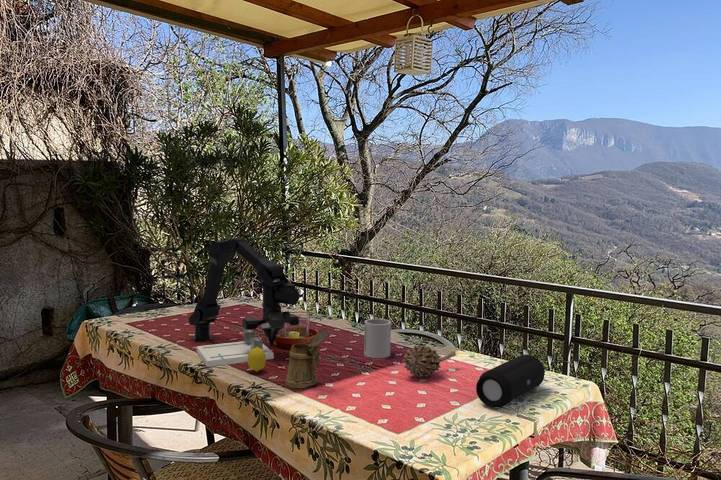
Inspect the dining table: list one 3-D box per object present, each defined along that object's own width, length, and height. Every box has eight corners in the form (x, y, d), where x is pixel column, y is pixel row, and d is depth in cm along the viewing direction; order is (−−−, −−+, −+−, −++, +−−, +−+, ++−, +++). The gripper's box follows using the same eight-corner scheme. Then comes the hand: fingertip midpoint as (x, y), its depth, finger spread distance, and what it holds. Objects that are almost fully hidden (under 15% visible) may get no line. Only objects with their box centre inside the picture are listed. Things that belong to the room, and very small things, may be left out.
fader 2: (250, 350, 180) (250, 338, 180) (259, 348, 182) (259, 337, 181) (253, 353, 177) (253, 341, 176) (262, 352, 178) (262, 340, 178)
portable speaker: (506, 415, 136) (507, 377, 135) (472, 404, 142) (473, 368, 142) (546, 389, 155) (548, 356, 154) (515, 381, 161) (516, 349, 160)
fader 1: (243, 341, 191) (243, 329, 191) (251, 340, 192) (251, 329, 192) (246, 343, 188) (246, 332, 187) (254, 342, 189) (254, 331, 189)
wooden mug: (314, 394, 147) (315, 331, 146) (279, 384, 155) (279, 323, 153) (334, 385, 154) (335, 325, 153) (299, 376, 162) (300, 318, 161)
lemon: (261, 375, 162) (261, 350, 161) (244, 374, 163) (244, 348, 162) (268, 370, 167) (268, 345, 167) (252, 368, 168) (252, 343, 168)
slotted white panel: (196, 352, 185) (196, 346, 185) (258, 345, 195) (258, 339, 195) (207, 367, 169) (207, 360, 169) (273, 358, 179) (273, 352, 179)
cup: (395, 355, 185) (396, 321, 184) (378, 361, 178) (379, 326, 177) (375, 350, 191) (376, 317, 190) (358, 355, 185) (359, 321, 184)
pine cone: (419, 386, 155) (420, 353, 155) (395, 377, 162) (396, 345, 162) (464, 370, 170) (465, 340, 169) (441, 363, 177) (441, 334, 176)
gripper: (250, 308, 169) (250, 356, 170) (305, 303, 177) (304, 349, 179) (241, 301, 179) (241, 347, 180) (293, 297, 187) (293, 341, 188)
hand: (270, 346), depth 181 cm, fingers closed
